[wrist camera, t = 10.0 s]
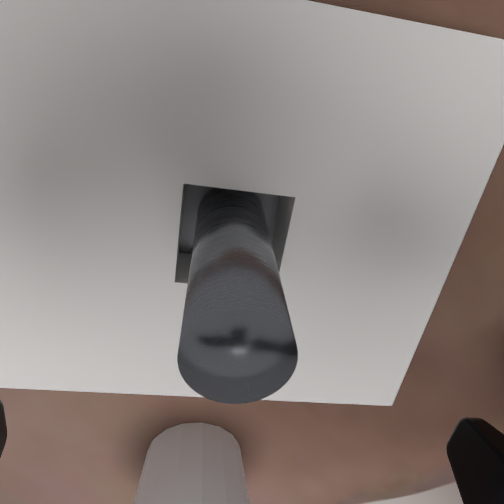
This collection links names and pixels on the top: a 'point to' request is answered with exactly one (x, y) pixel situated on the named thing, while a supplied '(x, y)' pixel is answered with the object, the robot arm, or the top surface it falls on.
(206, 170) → the bore board
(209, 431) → the white cup
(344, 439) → the top surface
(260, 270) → the steel pin
